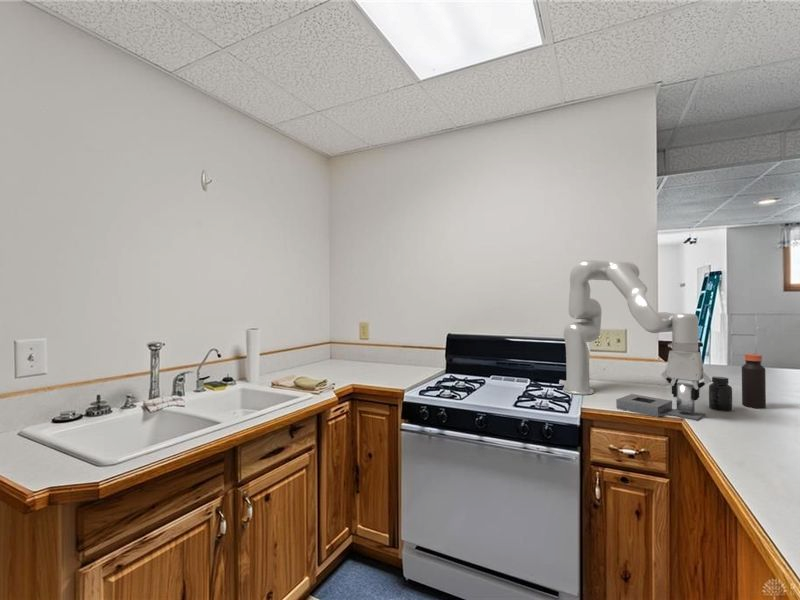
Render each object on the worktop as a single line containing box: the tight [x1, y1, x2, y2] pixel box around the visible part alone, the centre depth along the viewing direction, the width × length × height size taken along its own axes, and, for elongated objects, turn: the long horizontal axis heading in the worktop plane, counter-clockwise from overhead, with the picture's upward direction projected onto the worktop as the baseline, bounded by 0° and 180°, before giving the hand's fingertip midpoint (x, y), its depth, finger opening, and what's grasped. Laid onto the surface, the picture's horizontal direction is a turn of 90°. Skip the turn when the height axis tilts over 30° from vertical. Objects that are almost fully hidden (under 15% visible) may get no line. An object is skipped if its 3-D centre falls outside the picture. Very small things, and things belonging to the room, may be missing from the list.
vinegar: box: [741, 353, 767, 409], centre depth 149 cm, size 7×7×20 cm
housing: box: [615, 393, 673, 418], centre depth 147 cm, size 14×14×4 cm
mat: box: [666, 408, 706, 422], centre depth 139 cm, size 9×9×1 cm
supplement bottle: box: [708, 376, 733, 412], centre depth 146 cm, size 7×7×12 cm
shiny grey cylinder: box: [676, 382, 696, 412], centre depth 139 cm, size 5×5×9 cm
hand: (685, 397), depth 139 cm, fingers closed on shiny grey cylinder, 5 cm apart
